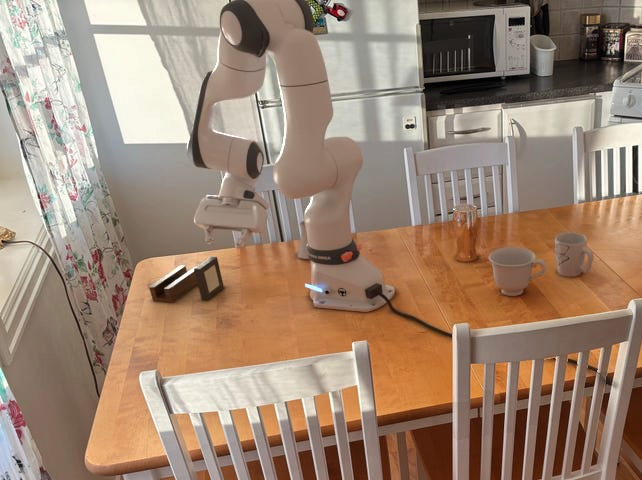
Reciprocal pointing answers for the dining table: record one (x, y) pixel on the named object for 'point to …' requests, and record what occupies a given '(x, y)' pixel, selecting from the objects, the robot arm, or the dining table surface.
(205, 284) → the frame
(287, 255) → the dining table surface
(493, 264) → the teacup
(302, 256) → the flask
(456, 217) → the beer glass
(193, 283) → the holder
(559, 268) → the mug
